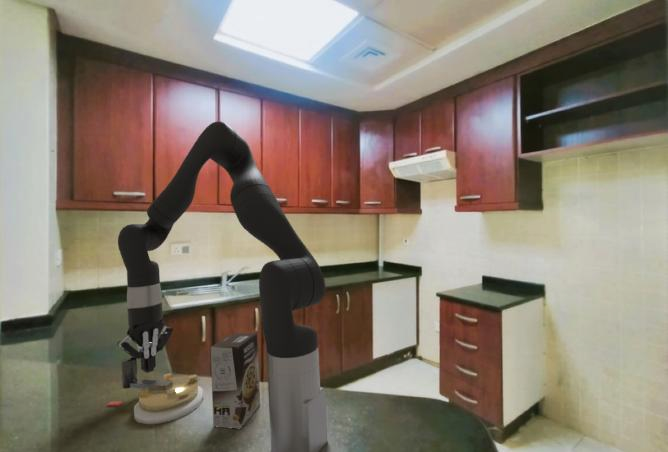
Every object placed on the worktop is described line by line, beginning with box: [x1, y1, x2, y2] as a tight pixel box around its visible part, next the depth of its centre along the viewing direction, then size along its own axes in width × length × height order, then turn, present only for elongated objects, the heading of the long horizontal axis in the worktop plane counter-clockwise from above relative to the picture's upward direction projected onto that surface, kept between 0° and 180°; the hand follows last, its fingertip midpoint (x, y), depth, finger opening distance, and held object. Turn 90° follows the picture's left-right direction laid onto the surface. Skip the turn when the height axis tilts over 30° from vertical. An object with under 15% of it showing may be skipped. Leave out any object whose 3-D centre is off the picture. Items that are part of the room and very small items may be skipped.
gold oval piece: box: [120, 356, 199, 412], centre depth 72 cm, size 18×12×8 cm, turn 78°
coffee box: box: [210, 332, 261, 429], centre depth 66 cm, size 9×6×16 cm
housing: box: [133, 385, 204, 425], centre depth 71 cm, size 14×14×2 cm
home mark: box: [106, 401, 124, 407], centre depth 73 cm, size 3×1×1 cm, turn 83°
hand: (148, 371), depth 78 cm, fingers closed
